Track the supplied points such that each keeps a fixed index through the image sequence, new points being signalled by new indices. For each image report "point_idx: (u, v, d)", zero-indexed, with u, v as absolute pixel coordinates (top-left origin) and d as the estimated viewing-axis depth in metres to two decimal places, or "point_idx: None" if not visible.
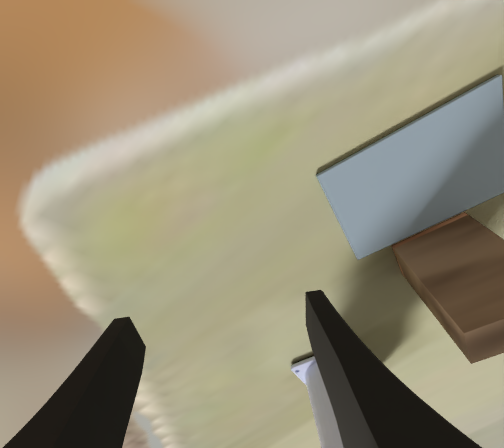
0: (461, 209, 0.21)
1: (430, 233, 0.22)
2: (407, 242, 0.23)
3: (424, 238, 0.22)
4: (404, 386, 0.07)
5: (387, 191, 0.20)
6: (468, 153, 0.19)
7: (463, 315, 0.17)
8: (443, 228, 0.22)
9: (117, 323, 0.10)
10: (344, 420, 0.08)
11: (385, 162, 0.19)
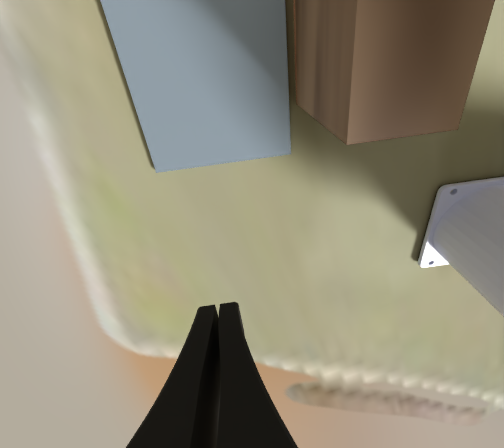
0: None
1: (296, 47, 0.15)
2: (297, 83, 0.16)
3: (297, 60, 0.15)
4: (270, 405, 0.07)
5: (202, 99, 0.16)
6: None
7: (338, 119, 0.10)
8: (296, 24, 0.14)
9: (206, 311, 0.10)
10: None
11: (160, 96, 0.16)
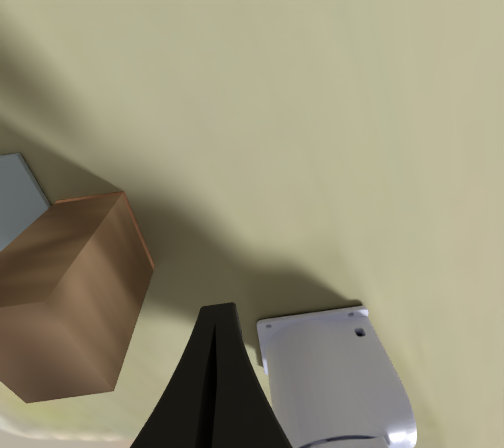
0: (44, 210, 0.16)
1: None
2: None
3: None
4: (266, 405, 0.07)
5: None
6: None
7: None
8: None
9: (209, 311, 0.10)
10: None
11: None
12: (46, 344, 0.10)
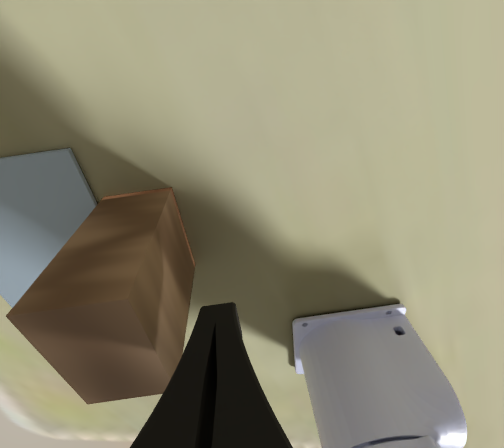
0: (91, 207, 0.16)
1: None
2: None
3: None
4: (266, 406, 0.07)
5: None
6: (2, 203, 0.15)
7: None
8: None
9: (209, 311, 0.10)
10: None
11: (11, 277, 0.18)
12: (119, 344, 0.10)
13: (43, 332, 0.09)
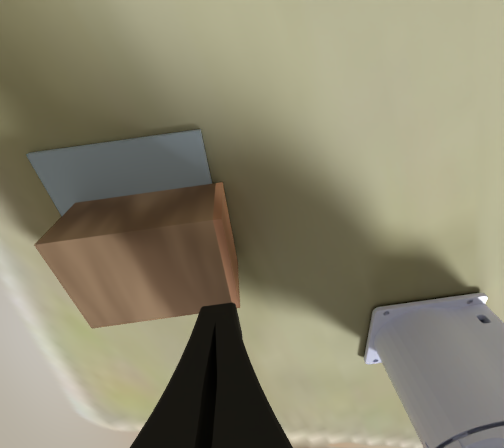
0: None
1: None
2: None
3: None
4: (266, 406, 0.07)
5: None
6: (123, 185, 0.15)
7: None
8: None
9: (209, 311, 0.10)
10: None
11: None
12: None
13: None
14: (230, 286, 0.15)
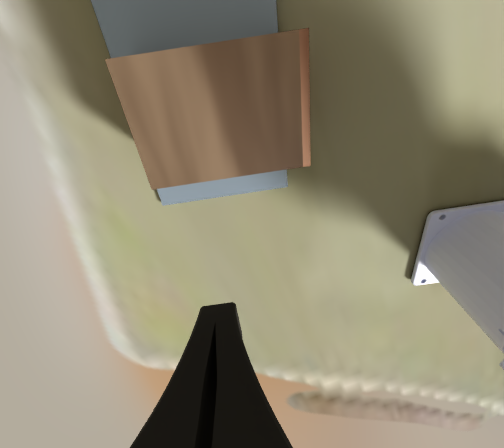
0: None
1: None
2: None
3: None
4: (265, 406, 0.07)
5: None
6: (185, 33, 0.14)
7: None
8: None
9: (209, 311, 0.10)
10: None
11: None
12: None
13: None
14: (304, 133, 0.14)
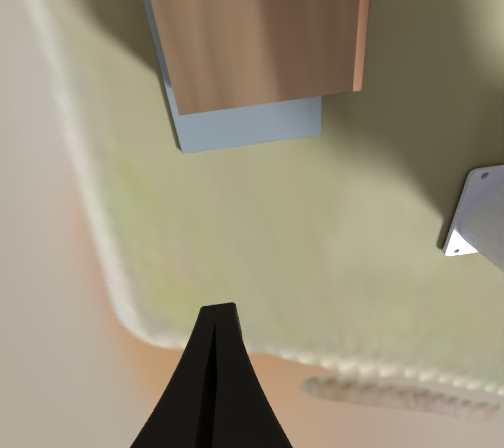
0: None
1: None
2: None
3: None
4: (266, 406, 0.07)
5: None
6: None
7: None
8: None
9: (209, 311, 0.10)
10: None
11: None
12: None
13: None
14: (359, 46, 0.12)
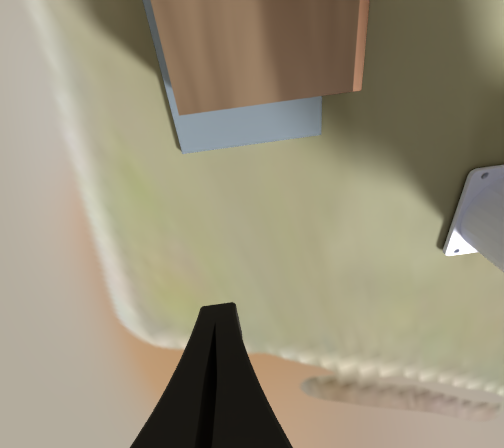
0: None
1: None
2: None
3: None
4: (266, 406, 0.07)
5: None
6: None
7: None
8: None
9: (209, 311, 0.10)
10: None
11: None
12: None
13: None
14: (359, 46, 0.12)
